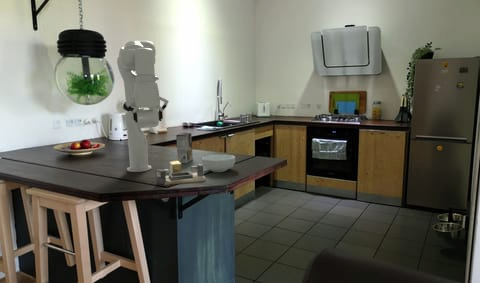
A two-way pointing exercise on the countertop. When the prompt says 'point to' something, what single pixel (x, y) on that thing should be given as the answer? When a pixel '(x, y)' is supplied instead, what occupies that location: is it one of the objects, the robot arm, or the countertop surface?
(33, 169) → the countertop surface
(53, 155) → the countertop surface
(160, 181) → the shaft bench
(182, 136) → the coffee box
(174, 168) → the coupler
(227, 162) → the cereal bowl
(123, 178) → the countertop surface
